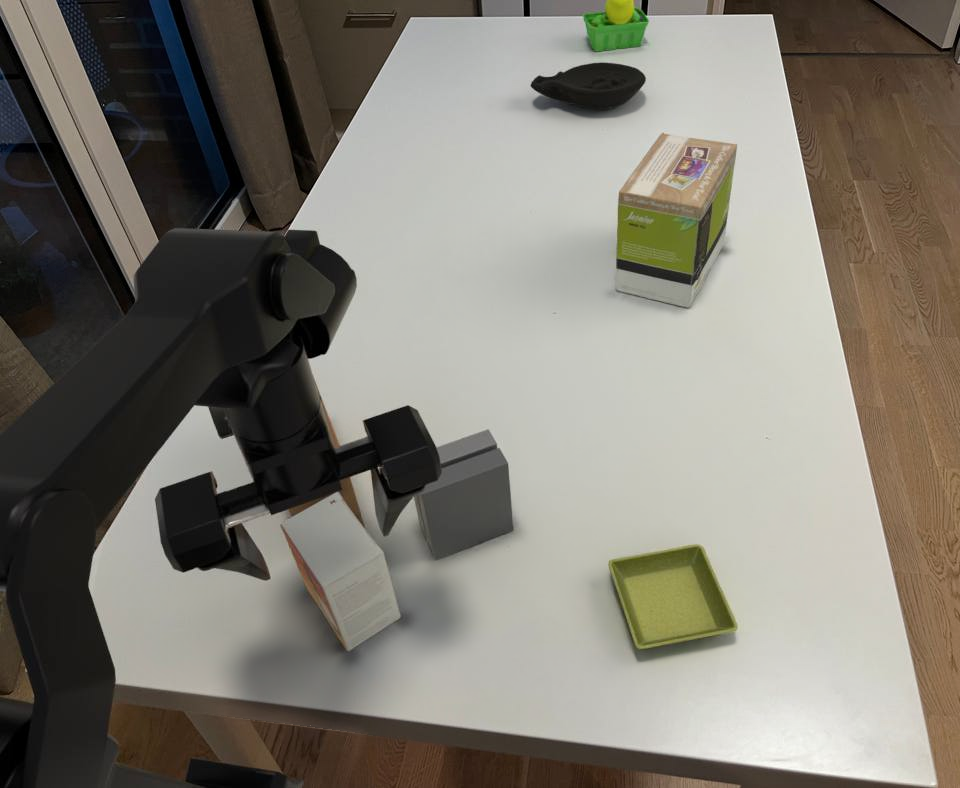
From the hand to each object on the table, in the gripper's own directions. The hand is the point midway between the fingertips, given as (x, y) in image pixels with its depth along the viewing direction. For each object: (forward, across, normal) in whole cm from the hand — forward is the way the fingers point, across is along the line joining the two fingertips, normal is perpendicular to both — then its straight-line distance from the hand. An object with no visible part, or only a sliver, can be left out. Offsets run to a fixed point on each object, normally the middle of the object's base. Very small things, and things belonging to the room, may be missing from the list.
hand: (326, 553), depth 60 cm
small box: (+13, -1, -3) cm, 13 cm away
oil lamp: (+12, -65, -81) cm, 105 cm away
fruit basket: (+11, -82, -100) cm, 129 cm away
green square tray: (+13, -26, +9) cm, 30 cm away
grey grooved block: (+12, -13, -7) cm, 19 cm away
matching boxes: (+12, -1, -18) cm, 22 cm away
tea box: (+12, -52, -33) cm, 63 cm away
